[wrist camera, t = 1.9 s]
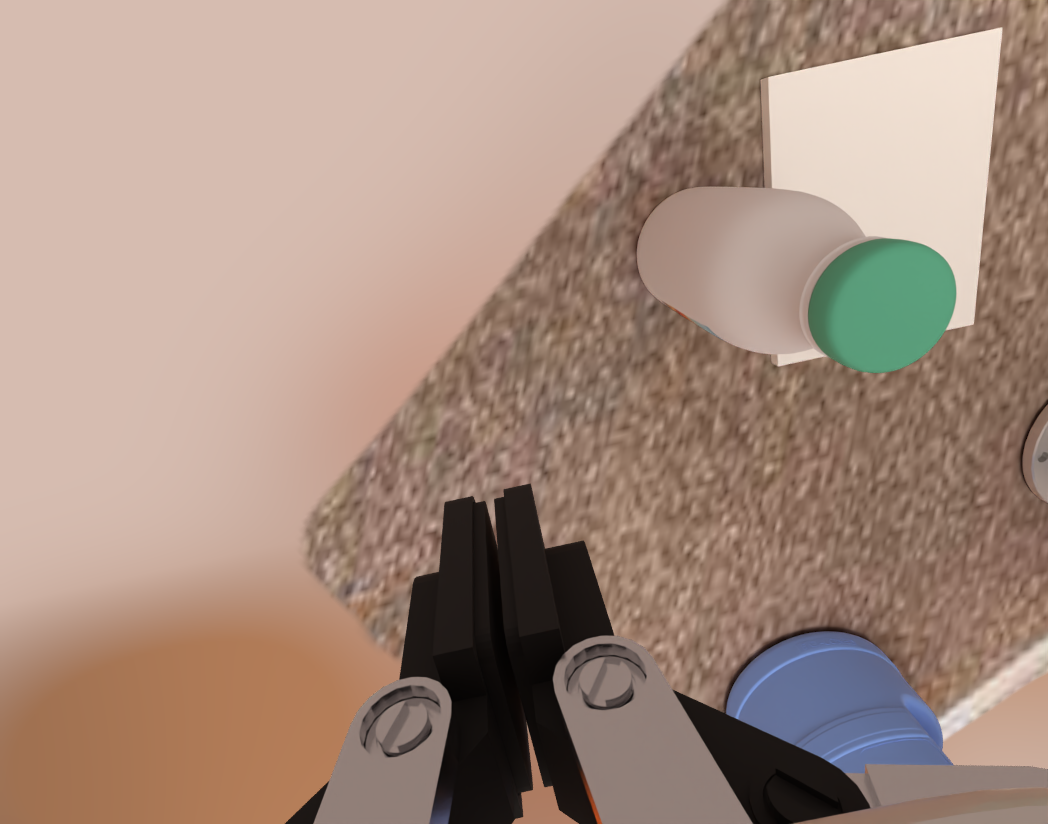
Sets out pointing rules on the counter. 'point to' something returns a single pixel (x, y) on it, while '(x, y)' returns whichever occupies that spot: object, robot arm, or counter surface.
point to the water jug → (837, 703)
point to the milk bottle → (794, 277)
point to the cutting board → (893, 147)
